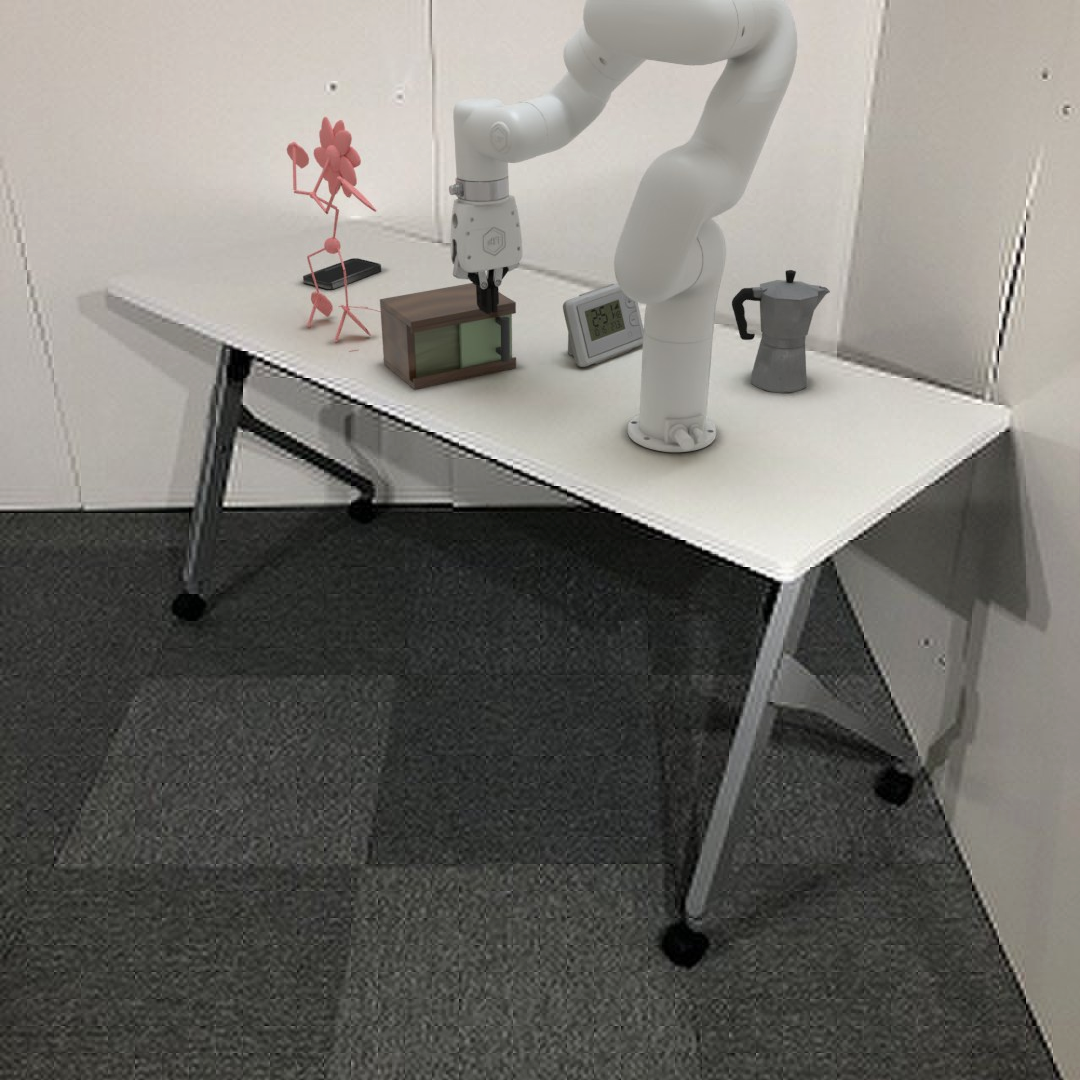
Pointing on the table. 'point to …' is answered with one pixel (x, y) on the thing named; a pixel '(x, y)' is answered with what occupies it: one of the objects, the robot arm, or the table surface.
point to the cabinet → (434, 334)
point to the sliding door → (485, 341)
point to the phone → (342, 273)
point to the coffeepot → (780, 330)
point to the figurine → (339, 173)
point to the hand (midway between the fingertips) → (488, 310)
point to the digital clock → (602, 325)
